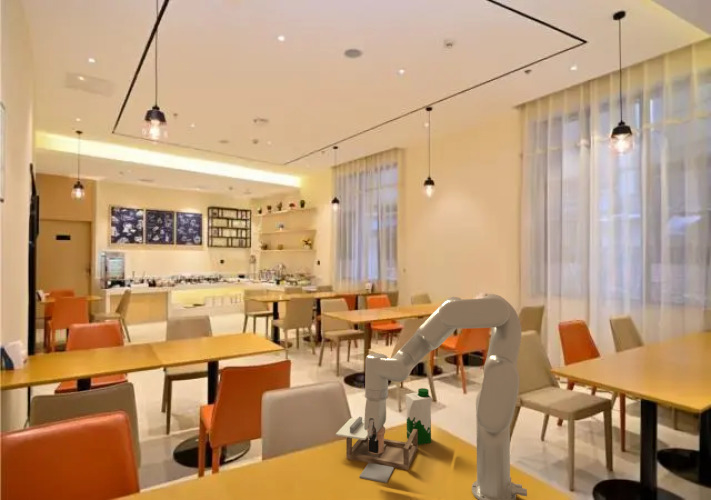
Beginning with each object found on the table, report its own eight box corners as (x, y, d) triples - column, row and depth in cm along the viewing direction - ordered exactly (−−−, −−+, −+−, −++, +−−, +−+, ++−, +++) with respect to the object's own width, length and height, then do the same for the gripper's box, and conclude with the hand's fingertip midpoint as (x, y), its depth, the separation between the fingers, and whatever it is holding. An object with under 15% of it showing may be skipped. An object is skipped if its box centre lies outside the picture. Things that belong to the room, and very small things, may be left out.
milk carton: (434, 445, 152) (434, 392, 153) (413, 449, 150) (412, 395, 150) (424, 436, 161) (423, 385, 161) (403, 439, 158) (403, 388, 158)
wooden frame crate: (417, 451, 148) (417, 429, 148) (407, 472, 133) (407, 448, 133) (361, 441, 156) (361, 421, 156) (346, 461, 141) (346, 438, 141)
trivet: (394, 471, 134) (394, 467, 134) (386, 486, 125) (386, 481, 125) (368, 467, 137) (368, 462, 137) (359, 480, 128) (359, 475, 129)
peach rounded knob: (387, 447, 133) (387, 426, 133) (382, 455, 128) (382, 433, 128) (370, 444, 135) (370, 423, 135) (364, 452, 130) (364, 430, 130)
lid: (377, 423, 153) (377, 416, 153) (364, 440, 139) (364, 432, 139) (350, 419, 157) (350, 412, 157) (335, 435, 143) (335, 428, 143)
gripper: (373, 383, 141) (373, 435, 141) (356, 399, 125) (356, 458, 125) (394, 386, 138) (394, 439, 138) (379, 402, 122) (379, 462, 122)
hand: (376, 447), depth 131 cm, fingers closed on peach rounded knob, 5 cm apart
